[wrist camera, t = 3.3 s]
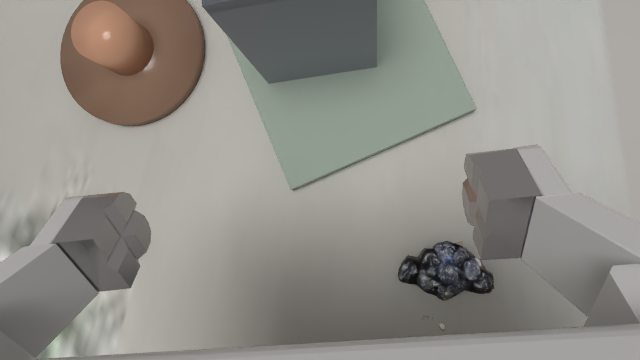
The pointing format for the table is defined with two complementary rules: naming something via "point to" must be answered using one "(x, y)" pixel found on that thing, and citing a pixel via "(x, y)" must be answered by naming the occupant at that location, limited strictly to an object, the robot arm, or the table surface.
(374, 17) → the gray box
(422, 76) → the mat
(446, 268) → the blueberries
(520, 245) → the robot arm
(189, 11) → the brown knobbed lid
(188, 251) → the table surface
